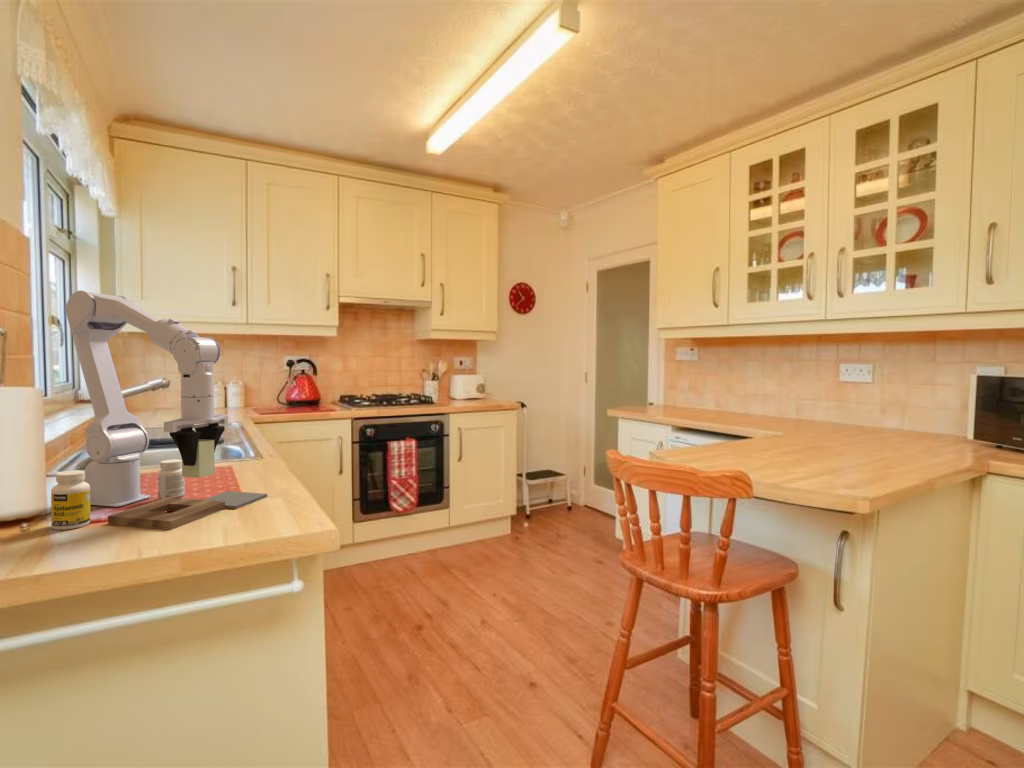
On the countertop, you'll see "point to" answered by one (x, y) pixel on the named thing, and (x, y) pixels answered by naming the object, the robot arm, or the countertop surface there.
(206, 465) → the sage block
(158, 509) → the walnut holder
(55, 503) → the supplement bottle
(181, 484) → the pill bottle
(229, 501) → the charcoal mat
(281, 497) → the countertop surface
